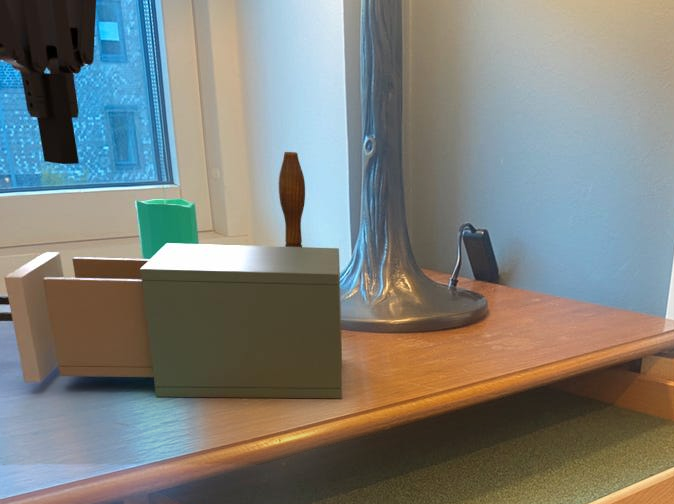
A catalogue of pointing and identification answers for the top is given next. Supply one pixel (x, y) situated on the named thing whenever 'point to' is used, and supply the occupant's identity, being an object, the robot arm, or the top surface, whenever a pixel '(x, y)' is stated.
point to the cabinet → (244, 321)
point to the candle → (165, 224)
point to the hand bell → (292, 198)
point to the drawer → (79, 317)
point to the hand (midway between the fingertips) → (61, 162)
